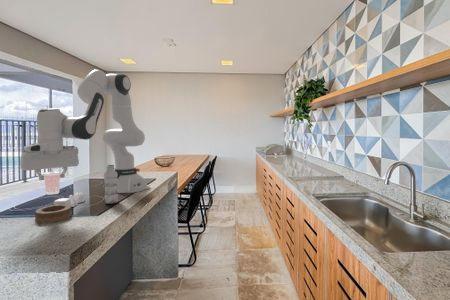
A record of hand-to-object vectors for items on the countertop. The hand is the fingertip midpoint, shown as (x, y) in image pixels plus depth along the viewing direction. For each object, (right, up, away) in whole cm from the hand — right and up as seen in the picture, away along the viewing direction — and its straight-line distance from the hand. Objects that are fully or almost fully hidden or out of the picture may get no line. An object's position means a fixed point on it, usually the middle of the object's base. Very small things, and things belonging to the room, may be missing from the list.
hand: (52, 178), depth 104 cm
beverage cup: (0, -7, 0) cm, 7 cm away
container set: (-3, -16, +19) cm, 25 cm away
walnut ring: (0, -17, +1) cm, 17 cm away
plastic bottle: (+15, -16, +23) cm, 31 cm away
